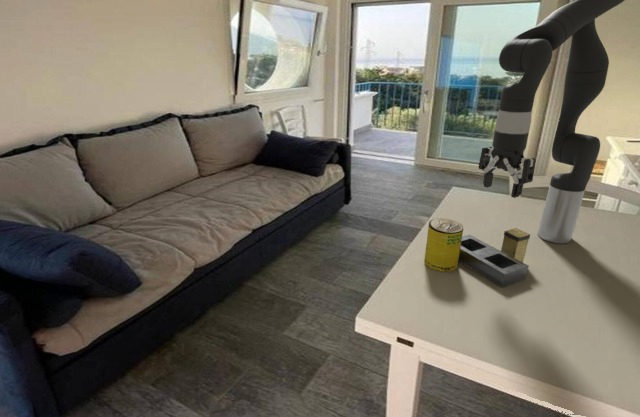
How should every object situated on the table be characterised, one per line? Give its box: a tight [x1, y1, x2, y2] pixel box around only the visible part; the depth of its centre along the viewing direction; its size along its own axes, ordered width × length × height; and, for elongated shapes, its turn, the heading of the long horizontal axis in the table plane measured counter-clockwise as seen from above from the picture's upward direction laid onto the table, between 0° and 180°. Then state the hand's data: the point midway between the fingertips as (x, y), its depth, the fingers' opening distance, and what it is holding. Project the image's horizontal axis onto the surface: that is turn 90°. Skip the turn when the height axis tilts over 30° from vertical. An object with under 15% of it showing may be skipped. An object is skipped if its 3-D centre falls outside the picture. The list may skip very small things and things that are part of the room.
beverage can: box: [423, 217, 464, 273], centre depth 105 cm, size 9×9×12 cm
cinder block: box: [458, 234, 529, 288], centre depth 105 cm, size 9×20×4 cm, turn 26°
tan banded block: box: [500, 227, 531, 263], centre depth 106 cm, size 5×5×9 cm
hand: (500, 191), depth 98 cm, fingers open, 8 cm apart
